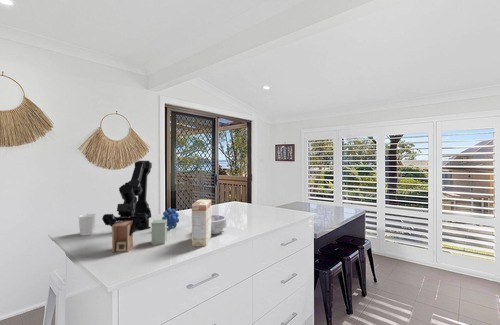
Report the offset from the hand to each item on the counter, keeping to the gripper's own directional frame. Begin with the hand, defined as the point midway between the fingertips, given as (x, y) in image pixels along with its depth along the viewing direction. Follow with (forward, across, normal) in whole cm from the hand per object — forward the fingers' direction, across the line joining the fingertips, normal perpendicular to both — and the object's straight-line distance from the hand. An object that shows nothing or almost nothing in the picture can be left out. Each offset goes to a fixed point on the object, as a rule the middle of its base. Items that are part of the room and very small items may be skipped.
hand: (121, 235), depth 117 cm
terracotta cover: (+4, 0, +6) cm, 7 cm away
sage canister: (-2, +14, +12) cm, 18 cm away
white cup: (-16, -26, +25) cm, 40 cm away
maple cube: (+4, 0, +6) cm, 7 cm away
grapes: (-18, +17, +28) cm, 38 cm away
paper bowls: (-12, +40, +21) cm, 47 cm away
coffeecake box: (-1, +35, +11) cm, 36 cm away
